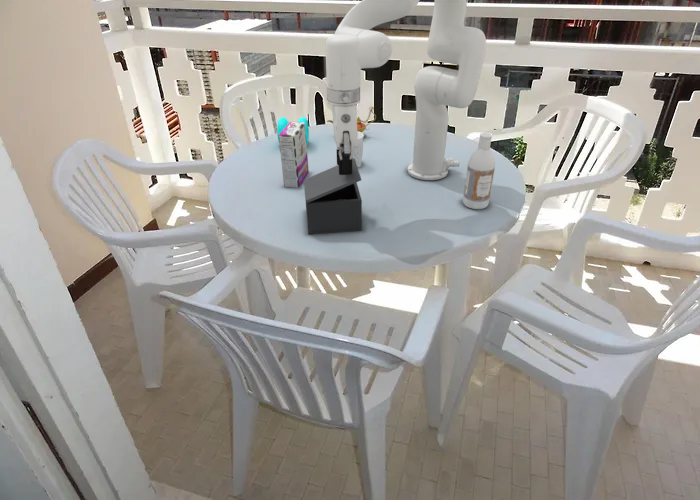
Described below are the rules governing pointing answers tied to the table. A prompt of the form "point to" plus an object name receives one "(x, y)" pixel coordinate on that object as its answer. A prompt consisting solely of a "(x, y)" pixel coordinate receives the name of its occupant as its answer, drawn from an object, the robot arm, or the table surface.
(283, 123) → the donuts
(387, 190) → the table surface
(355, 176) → the brewer lid
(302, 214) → the table surface
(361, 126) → the magic lamp
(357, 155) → the white cup
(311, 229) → the dark grey storage bin
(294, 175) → the candy bar box
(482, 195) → the bath foam
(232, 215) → the table surface
